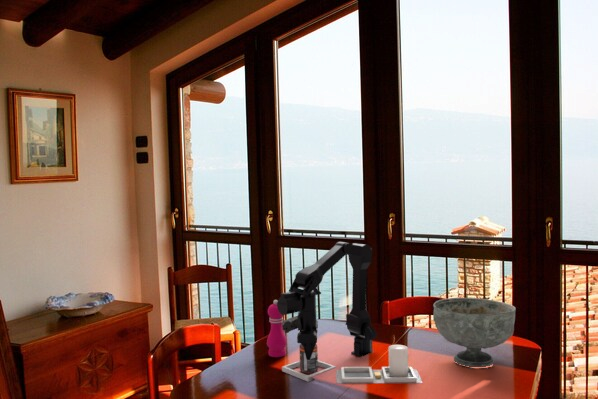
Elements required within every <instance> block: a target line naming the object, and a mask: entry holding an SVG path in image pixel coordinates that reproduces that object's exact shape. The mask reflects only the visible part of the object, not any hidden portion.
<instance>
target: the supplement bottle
mask: <svg viewBox="0 0 598 399" xmlns="http://www.w3.org/2000/svg"><path fill="white" fill-rule="evenodd" d="M318 356H319V354H318V344H317V343H316V345H315V347H314V350H313V353H312V355H311V358H310V360H307V359H306V355H305V351H304V347H303V345H302V344H301V343H299V361H300V366H299V372H300V373H303V374H305V375H311V374H314V373H316V372H318V371H319V366H318V360H319V359H318V358H319V357H318Z"/></svg>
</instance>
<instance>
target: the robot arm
mask: <svg viewBox="0 0 598 399" xmlns="http://www.w3.org/2000/svg"><path fill="white" fill-rule="evenodd" d="M347 255H348V262H349V264H350V266H351V267H352V268H351V269H352V294H351V295H352V296H351V297H352V298H351V300H352V303H351V304H352V305H351V307H352V308H351V310H350V311H349V313H346V314H345V321H346V322H345V325H346V327H347V328H346V329H347V330H348V331H349V335H350V336H352V337H354V338H353V340H354V341H353V351H351V352H350V353H351V354H352V355H355V356H357V357H365V356H366V355H369V354H372V353H375V351H374V350H373V340H374V339H376V338H377V335H378V331H377V330H376V329H375V328H374V327H373V326H372V323H371V321H372V320H371V316H370V314H369V312H368V310H367V289H368V288H367V283H368V282H367V280H368V279H367V276H368V273H367V272H368V271H367V270H368V269H369V267H370V265H371V263H372V256H373V248H372V247H371V246H370V245H368V244H363V243H357V242H354V243H349V242H345V241H337V242H336V243H335V244H334V246H333V247H331V248H330V249H329V250H328V251H327V252H326V253H325V254H323V255H322V256H321V257H320V258H319V259H318V260H317V261H315V263H313V264H312V265H309V266H308V265H307V266H306V267H304V268H302V269H301V270H299V271H298V272H296V274H295V277H294V280H293V281H292V283H291V286H289V287H290V288H289V290H288V292H281V293H280V297H279V298H278V299H277V301H278V302H277V308H278V311H279V313H280V314H282V315H283V316H286V315H291V314H294V313H295V314H296V313H297V315H295V316H292V317H290V318H288V319H283V322H282V329H283V332H284V334H288V333H290V332H292V331H294V330H297V331H299V332H298V333H297V334H296V335H297V337H296V342H297V344H302V345H303V347H304V351H305V355H306V359H307V360H310V358H311V355H312V353H313V350H314V347H315V345H316V344H317V343H318V329H319V323H318V322H319V321H318V319H317V301H316V300H317V296H318V295H322V292H321V291H320V290H318V287H319V285H320V284H321V283H322V281H323V278H324V276H325V274H326V273H327V272H329V271H330V270H331V269H332V268H333V267H334V266H335V265H336V264H338V263H339V262H340V261H341V260H342V259H343V258H344V257H345V256H347Z"/></svg>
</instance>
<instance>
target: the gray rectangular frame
mask: <svg viewBox="0 0 598 399" xmlns="http://www.w3.org/2000/svg"><path fill="white" fill-rule="evenodd" d="M335 379H336V384H423V381H422V378H421V376H420V373H419V372H418V369H414V368H413V367H412V366H408V377H389V366H381V369H372V366H341V367H340V369H336V370H335Z"/></svg>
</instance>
